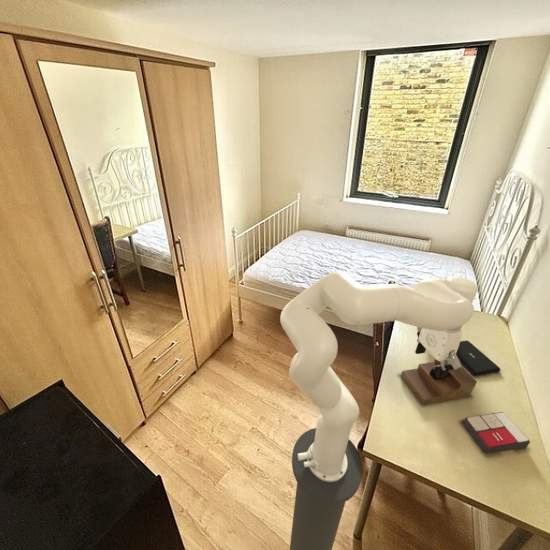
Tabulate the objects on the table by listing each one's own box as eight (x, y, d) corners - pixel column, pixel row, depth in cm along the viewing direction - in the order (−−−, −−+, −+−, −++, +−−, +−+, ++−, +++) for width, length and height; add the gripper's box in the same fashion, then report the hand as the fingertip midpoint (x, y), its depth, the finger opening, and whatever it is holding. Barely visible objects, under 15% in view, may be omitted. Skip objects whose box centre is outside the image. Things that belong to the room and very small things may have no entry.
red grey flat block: (464, 416, 101) (504, 410, 102) (461, 423, 103) (499, 417, 104) (489, 447, 91) (532, 440, 93) (484, 455, 93) (526, 448, 95)
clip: (447, 378, 113) (451, 369, 111) (434, 380, 112) (438, 371, 110) (441, 371, 116) (445, 363, 113) (429, 373, 115) (432, 365, 112)
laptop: (467, 377, 121) (469, 373, 120) (440, 343, 138) (441, 340, 137) (503, 375, 122) (505, 372, 121) (472, 342, 139) (473, 339, 138)
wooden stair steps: (421, 405, 109) (427, 390, 105) (400, 375, 120) (405, 361, 116) (469, 396, 112) (477, 381, 109) (444, 368, 124) (450, 354, 120)
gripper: (415, 303, 87) (402, 346, 95) (458, 342, 72) (438, 389, 81) (437, 300, 88) (422, 343, 97) (484, 339, 74) (461, 385, 82)
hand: (429, 364), depth 89 cm, fingers open, 9 cm apart
